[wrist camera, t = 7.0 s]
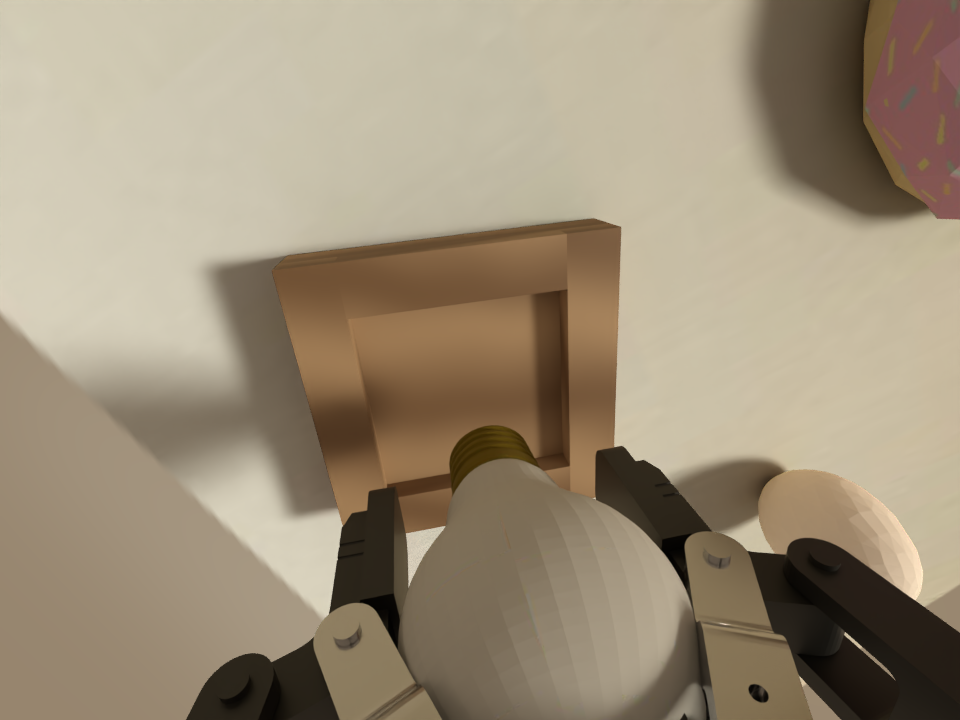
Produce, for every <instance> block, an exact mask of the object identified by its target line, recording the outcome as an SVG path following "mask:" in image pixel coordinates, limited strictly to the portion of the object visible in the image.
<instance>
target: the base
mask: <svg viewBox="0 0 960 720" xmlns="http://www.w3.org/2000/svg"><path fill="white" fill-rule="evenodd" d="M620 247H621V227H619V226H616V225H613V224H610V223H607V222H604V221H600V220H597V219H586V220H578V221H569V222H561V223H553V224H545V225H536V226H528V227H520V228H512V229H503V230H495V231H487V232H479V233H470V234H462V235H454V236H446V237H437V238H429V239H421V240H412V241H404V242H396V243H388V244H379V245H371V246H363V247H355V248H346V249H338V250H330V251H322V252H313V253H305V254H297V255H289V256H287V257H286V258H285V259H283V260H282V261H281V262H280V263H279V264H278V265H277V266H276V267H275V268H274V269H273V270H272V274H273V277H274V281H275V285H276V288H277V292H278V295H279V299H280V302H281V306H282V310H283V313H284V317H285V320H286V324H287V327H288V331H289V335H290V338H291V342H292V345H293V349H294V353H295V356H296V360H297V363H298V367H299V370H300V374H301V378H302V381H303V385H304V388H305V392H306V396H307V399H308V403H309V406H310V410H311V413H312V417H313V421H314V424H315V428H316V431H317V435H318V438H319V442H320V446H321V449H322V453H323V456H324V460H325V464H326V467H327V471H328V474H329V478H330V481H331V485H332V489H333V492H334V496H335V499H336V503H337V506H338V510H339V514H340V517H341V521H342V524H343V526H344V524H345V523H346V521H347V520H348V518H349V517H350V515H351V513H355V512H361V511H366V510H367V504H368V493H369V491H371V490H377V489H382V488H388V487H393V486H396V489H397V493H398V498H399V503H400V508H401V512H402V517H403V522H404V527H405V533H410V532H415V531H420V530H426V529H431V528H436V527H442V526H446V520H447V513H448V508H449V505H450V502H451V499H452V489H451V478H450V467H449V461H450V456H451V452H452V450H453V448H454V446H455V445H456V444H457V442H458V441H459V440H460V439H461V438H462V437H463V436H464V435H466V434H467V433H469V432H470V431H472V430H474V429H477V428H480V427H483V426H489V425H499V426H504V427H508V428H510V429H512V430H514V431H516V432H517V433H519V434H520V435H521V436H522V437H523V438H524V440H525V441H526V443H527V445H528V447H529V448H530V451H531V452H532V454H533V456H534V458H535V459H536V461H537V463H538V465H539V467H540V468H541V470H543V471H544V472H546V473H547V474H548V475H549V476H550V477H551V478H552V480H553V481H554V482H555V483H556V484H557V485H558V487H559V488H562V489H565V490H567V491H571V492H575V493H578V494H582V495H585V496H588V497H590V498H594V497H596V496H595V457H596V452H597V451H598V450H602V449H608V448H614V430H615V400H616V369H617V339H618V308H619V277H620Z"/></svg>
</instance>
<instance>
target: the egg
mask: <svg viewBox="0 0 960 720" xmlns="http://www.w3.org/2000/svg"><path fill="white" fill-rule="evenodd" d="M758 512H759V522H760V525H761V528H762V531H763V533H764V536H765V538H766V540H767V542H768V543H769V545H770V547H771V548H772V550H773V551H774V553H775V554H786V552H787V548H788V546H789V544H790V543H791V542H792V541H794V540H796V539H799V538H816V539H821V540H824V541H827V542H830V543H833V544H835V545H837V546H839V547H841V548H842V549H844V550H845V551H847V552H848V553H850V554H851V555H853V556H854V557H855V558H857V559H858V560H860V561H861V562H862V563H864V564H865V565H866V566H868V567H869V568H871V569H872V570H873V571H875V572H876V573H878V574H879V575H880V576H882V577H883V578H884V579H886V580H887V581H889V582H890V583H891V584H893V585H894V586H896V587H897V588H898V589H900V590H901V591H903V592H904V593H905V594H907V595H908V596H909V597H911V598H912V599H914V600H916V598H917V597H918V595H919V593H920V591H921V587H922V579H923V570H922V566H921V563H920V559H919V556H918V552H917V550H916V548H915V546H914V544H913V543H912V541H911V539H910V538H909V536H908V535H907V533H906V532H905V530H904V529H903V527H902V526H901V524H900V523H899V521H898V520H897V518H896V517H895V516H894V515H893V514H892V513H891V511H890V510H889V509H888V508H887V507H886V506H885V505H884V504H883V503H882V502H880V501H879V500H878V499H876V498H875V497H874V496H872V495H871V494H870V493H869V492H867V491H866V490H865V489H863V488H862V487H860V486H858V485H857V484H855V483H853V482H851V481H849V480H847V479H844V478H842V477H839V476H837V475H834V474H831V473H828V472H823V471H817V470H807V469H803V470H792V471H787V472H784V473H782V474H780V475H777V476H775V477H773V478H772V479H771V480H770V481H769V482H768V483H767V484H766V485H765V487H764V488H763V490H762V492H761V495H760V498H759V502H758Z"/></svg>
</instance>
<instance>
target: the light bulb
mask: <svg viewBox="0 0 960 720" xmlns="http://www.w3.org/2000/svg"><path fill="white" fill-rule="evenodd" d="M449 467H450V478H451V489H452V499H451V502H450V505H449V508H448V513H447V520H446V527H445V529H444V530H443V531H442V532H441V534H440V535H439V536H438V537H437V538H436V540H435V541H434V542H433V544H432V545H431V547H430V548H429V550H428V551H427V552H426V554H425V555H424V557H423V559H422V561H421V562H420V564H419V566H418V568H417V570H416V573H415V575H414V577H413V579H412V581H411V584H410V586H409V589H408V592H407V595H406V599H405V603H404V607H403V610H402V614H401V619H400V625H399V634H398V652H399V654H400V656H401V658H402V659H403V661H404V663H405V665H406V667H407V669H408V670H409V672H410V674H411V676H412V678H413V679H414V681H415V683H416V684H417V685H419V684H421V685H422V686H423V688H424V689H425V690H426V692H427V694H428V695H429V697H430V699H431V701H432V702H433V704H434V706H435V708H436V710H437V711H438V713H439V715H440V717H441V719H442V720H680V719H681V718H682V716H683V714H684V713H685V715H686V716H687V718H688V720H706V703H705V698H704V693H703V691H702V689H701V679H700V661H699V648H698V638H697V630H696V623H695V617H694V612H693V607H692V603H691V600H690V597H689V594H688V593H687V591H686V589H685V587H684V585H683V583H682V581H681V579H680V578H679V576H678V574H677V572H676V571H675V569H674V567H673V566H672V564H671V563H670V561H669V560H668V559H667V557H666V556H665V554H664V553H663V552H662V551H661V550H660V549H659V547H658V546H657V545H656V544H655V543H654V542H653V541H652V540H651V539H650V538H649V537H648V535H647V534H646V533H645V532H644V531H643V530H641V529H640V528H639V527H638V526H637V525H636V524H634V523H633V522H632V521H631V520H629V519H628V518H626V517H625V516H623V515H622V514H621V513H619V512H618V511H616V510H615V509H613V508H612V507H610V506H608V505H606V504H604V503H601V502H599V501H597V500H595V499H593V498H590V497H588V496H585V495H582V494H578V493H575V492H571V491H567V490H565V489H562V488H559V487H558V485H557V484H556V483H555V482H554V481H553V480H552V478H551V477H550V476H549V475H548V474H547V473H546V472H544V471H543V470H541V468H540V467H539V465H538V463H537V461H536V459H535V458H534V456H533V454H532V452H531V451H530V448H529V447H528V445H527V443H526V441H525V440H524V438H523V437H522V436H521V435H520V434H519V433H517V432H516V431H514V430H512V429H510V428H508V427H504V426H499V425H489V426H483V427H480V428H477V429H474V430H472V431H470V432H469V433H467V434H466V435H464V436H463V437H462V438H461V439H460V440H459V441H458V442H457V444H456V445H455V446H454V448H453V450H452V452H451V456H450V461H449Z"/></svg>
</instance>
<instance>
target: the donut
mask: <svg viewBox="0 0 960 720" xmlns="http://www.w3.org/2000/svg"><path fill="white" fill-rule="evenodd" d="M863 122H864V124H865V126H866V128H867V130H868V132H869V134H870V136H871V138H872V140H873V142H874V144H875V146H876V148H877V150H878V152H879V153H880V155H881V157H882V159H883V161H884V163H885V165H886V167H887V169H888V171H889V173H890V175H891V177H892V179H893V181H894V183H895V185H897V186H898V187H900V188H902V189H903V190H905V191H906V192H908V193H910V194H911V195H913V196H915V197H916V198H918V199H919V200H921V201H923V202H924V203H926V204H927V206H928V207H929V208H930V210H931V211H932V213H933V214H934V215H935V217H936V218H937V219H960V0H870V4H869V10H868V17H867V24H866V30H865V37H864V91H863Z"/></svg>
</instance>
